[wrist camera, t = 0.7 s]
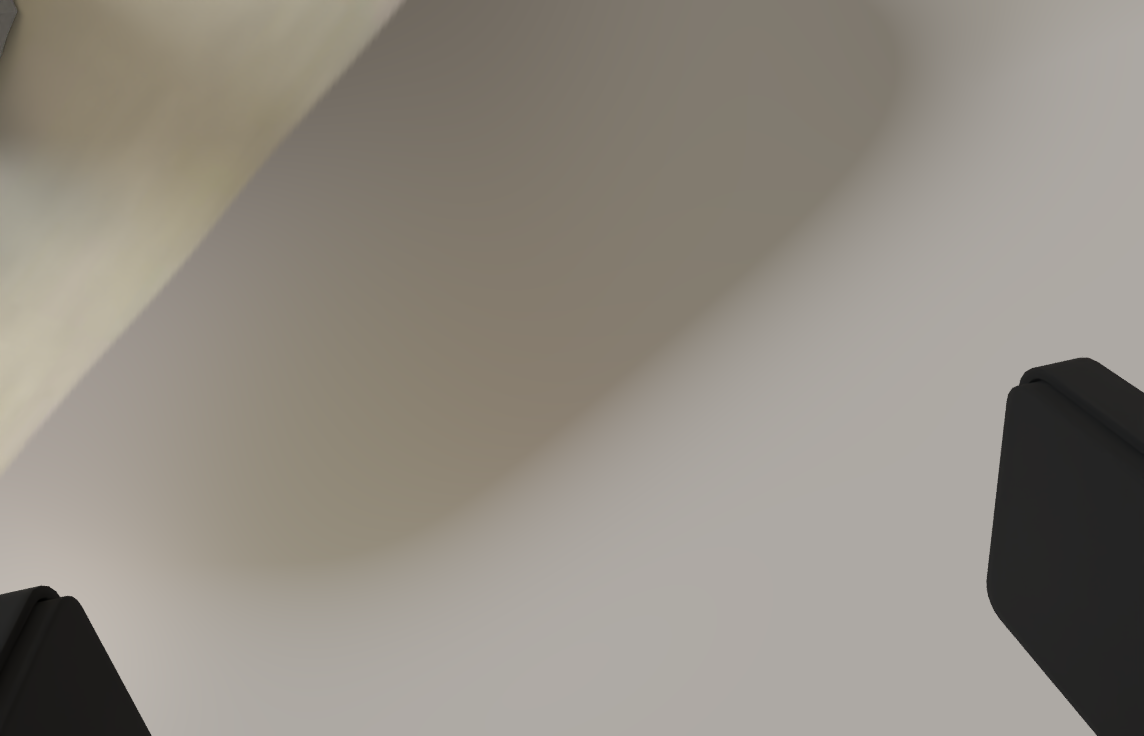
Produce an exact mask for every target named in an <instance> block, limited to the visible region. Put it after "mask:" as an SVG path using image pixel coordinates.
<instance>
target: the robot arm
mask: <svg viewBox="0 0 1144 736" xmlns="http://www.w3.org/2000/svg"><path fill="white" fill-rule="evenodd" d="M987 592H988V597H989V599H990V602H991V605H992V607H993V609H994V611H995V613H996V614H997V616H998V617H999V618H1000V620H1001V621H1002V622H1003V623H1004V625H1005V626H1006V627H1007V628H1008V629H1009V630H1010V632H1011V633H1012V634H1013V635H1014V637H1016V639H1017V640H1018V641H1019V643H1020V644H1021V645H1022V646H1023V647H1024V649H1025V650H1026V651H1027V652H1028V653H1029V655H1030V656H1031V657H1032V658H1033V659H1034V661H1035V662H1036V663H1037V664H1038V665H1039V666H1040V668H1041V669H1042V670H1043V671H1044V672H1045V674H1046V675H1047V676H1048V677H1049V679H1050V680H1051V681H1052V682H1053V683H1054V684H1055V686H1056V687H1057V688H1058V689H1059V690H1060V692H1061V693H1062V694H1063V695H1064V697H1065V698H1066V699H1067V700H1068V701H1069V703H1070V704H1071V705H1072V706H1073V707H1074V708H1075V710H1076V711H1077V712H1078V713H1079V715H1080V716H1081V717H1082V718H1083V719H1084V720H1085V722H1086V723H1087V724H1088V725H1089V726H1090V728H1091V729H1092V730H1093V731H1094V732H1095V734H1096V735H1097V736H1144V393H1143V392H1142V391H1140V390H1139V389H1137V388H1136V387H1134V386H1133V385H1131V384H1130V383H1128V382H1127V381H1125V380H1124V379H1122V378H1121V377H1119V376H1118V375H1116V374H1115V373H1113V372H1112V371H1110V370H1109V369H1107V368H1106V367H1104V366H1103V365H1101V364H1100V363H1098V362H1097V361H1094V360H1092V359H1090V358H1077V359H1072V360H1067V361H1063V362H1058V363H1054V364H1049V365H1044V366H1040V367H1035V368H1032V369H1030V370H1028V371H1026V372H1025V373H1024V375H1023V376H1022V378H1021V380H1020V384H1019V386H1016V387H1014V388H1012V390H1011V391H1010V392H1009V394H1008V398H1007V403H1006V412H1005V422H1004V430H1003V440H1002V448H1001V457H1000V465H999V474H998V483H997V492H996V501H995V510H994V520H993V528H992V537H991V546H990V555H989V563H988V572H987ZM0 736H151V734H150V732H149V730H148V728H147V726H146V725H145V723H144V721H143V719H142V717H141V715H140V714H139V712H138V710H137V708H136V706H135V704H134V702H133V701H132V699H131V697H130V695H129V693H128V691H127V689H126V688H125V686H124V684H123V682H122V680H121V678H120V676H119V675H118V673H117V671H116V669H115V667H114V665H113V663H112V661H111V660H110V658H109V656H108V654H107V652H106V650H105V648H104V647H103V645H102V643H101V641H100V639H99V637H98V635H97V634H96V632H95V630H94V628H93V626H92V624H91V623H90V621H89V619H88V617H87V615H86V613H85V611H84V609H83V608H82V606H81V605H80V603H79V602H78V601H77V600H76V599H75V598H74V597H72V596H64V597H60V596H59V595H58V594H57V592H56V591H55V590H53V589H52V588H50V587H49V586H38V587H33V588H28V589H24V590H19V591H15V592H10V593H6V594H1V595H0Z"/></svg>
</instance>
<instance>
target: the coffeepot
mask: <svg viewBox="0 0 1144 736" xmlns="http://www.w3.org/2000/svg"><path fill="white" fill-rule="evenodd" d="M16 14H17V8H16V6H15V4H14V2H13V0H0V57H1V55H2V52H3V49H4V45H5V42H6V38H7V35H8V33H9V31H10V28H11V26H12V23H13V21H14V19H15V16H16Z"/></svg>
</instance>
